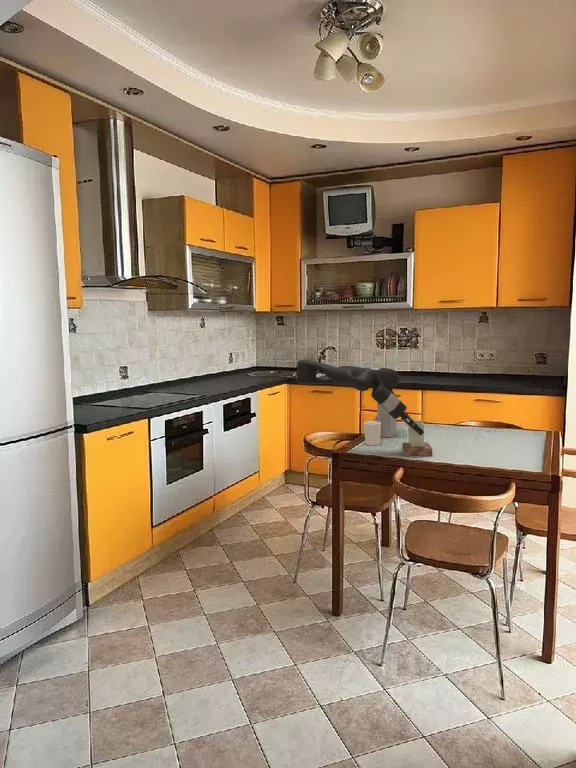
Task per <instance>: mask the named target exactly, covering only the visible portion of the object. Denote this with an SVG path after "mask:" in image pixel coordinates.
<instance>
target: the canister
mask: <svg viewBox="0 0 576 768" xmlns="http://www.w3.org/2000/svg"><path fill="white" fill-rule="evenodd" d="M413 420H414V421H415V423H416V424H417V425H418V426H419V427H420V428H421V429H422V430H423V431H424V433H423V434H422V435H419V434H418V433H417V432H416V431H415V430H413V428H411V427H409V426H408V442H409V445H410V446H411V447H424V442H425V423H424V422H423V421H422V420H421V419H413ZM414 425H415V424H414V423H413V424H412V427H413V426H414Z"/></svg>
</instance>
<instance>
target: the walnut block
mask: <svg viewBox="0 0 576 768" xmlns="http://www.w3.org/2000/svg"><path fill="white" fill-rule="evenodd" d="M401 446H402V449H401V450H403V451H402V452H404V453H403V454H405V455H404V457H405V456H406V457H405V458H411V457H410V456H413V457H412V458H415V457H414V456H420V457H419V458H421V457H422V458H423V457H425V456H426V457H428V458H429V456H432V457H433V448H432V446H431V445H430V443H429V442H428V441H427V442H426V441H424V447H411V446H410V445H409V441H408V442H402V445H401Z"/></svg>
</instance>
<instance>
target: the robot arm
mask: <svg viewBox="0 0 576 768" xmlns="http://www.w3.org/2000/svg"><path fill="white" fill-rule="evenodd" d="M317 370H319V371H321V372H322V373H323V375H321V376H317V373H318V371H317ZM295 380H296V383H298V384H301V385H335V386H336V385H337V386H348V387H351V388H353V389H355V390H356V391H358V392H366V391H368V390H369V389H370V388H372V389H371V395H370V396H371V398H372V399H373V400H374V401H375V402H376V416H375V421H378V422H381V435H380V438H382V437H383V438H392V437H393V438H394V437H396V436H397V419H398V418H400V420H401V421H402V422H403V423H405V424H406V426H407V427H408V428H409V427H411V428H413V430H415V431H416V432H417V433H418V434H419V435H422V434H423V433H424V434H425V430H424V431H423V430H422V429H421V428H420V427H419V426H418V425H417V424H416V423H415V421H414V420H415V419H414V418H412V416H411V415H410V414H409V413H408V412H406V410H407V405H406V404H404V402H403V401H401V400H400V399H399V398H398V397H397V395H396V394H395V392H394V391H393V388H394V387H396V386H397V385H398V383H399V382H400V375H399V373H398V372H397V371H396V370H395V369H392V368H388V367H380V368H378V369H372V368H370V367H360V366H354V365H341V366H340V365H339V366H338V367H337V366H334V365H330V364H327V363H323V362H319V361H316V360H311V359H300V360H298V361H297V366H296V376H295ZM413 423H414V424H415V425H414V426H413V427H412V424H413Z"/></svg>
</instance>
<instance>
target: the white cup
mask: <svg viewBox="0 0 576 768" xmlns="http://www.w3.org/2000/svg"><path fill="white" fill-rule="evenodd" d="M363 431H364V432H363V433H364V444H365V445H366V444H367V446H378V445H380V444H381V437H380V435H381V422H378V421H376V420H368V421H364V422H363Z"/></svg>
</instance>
